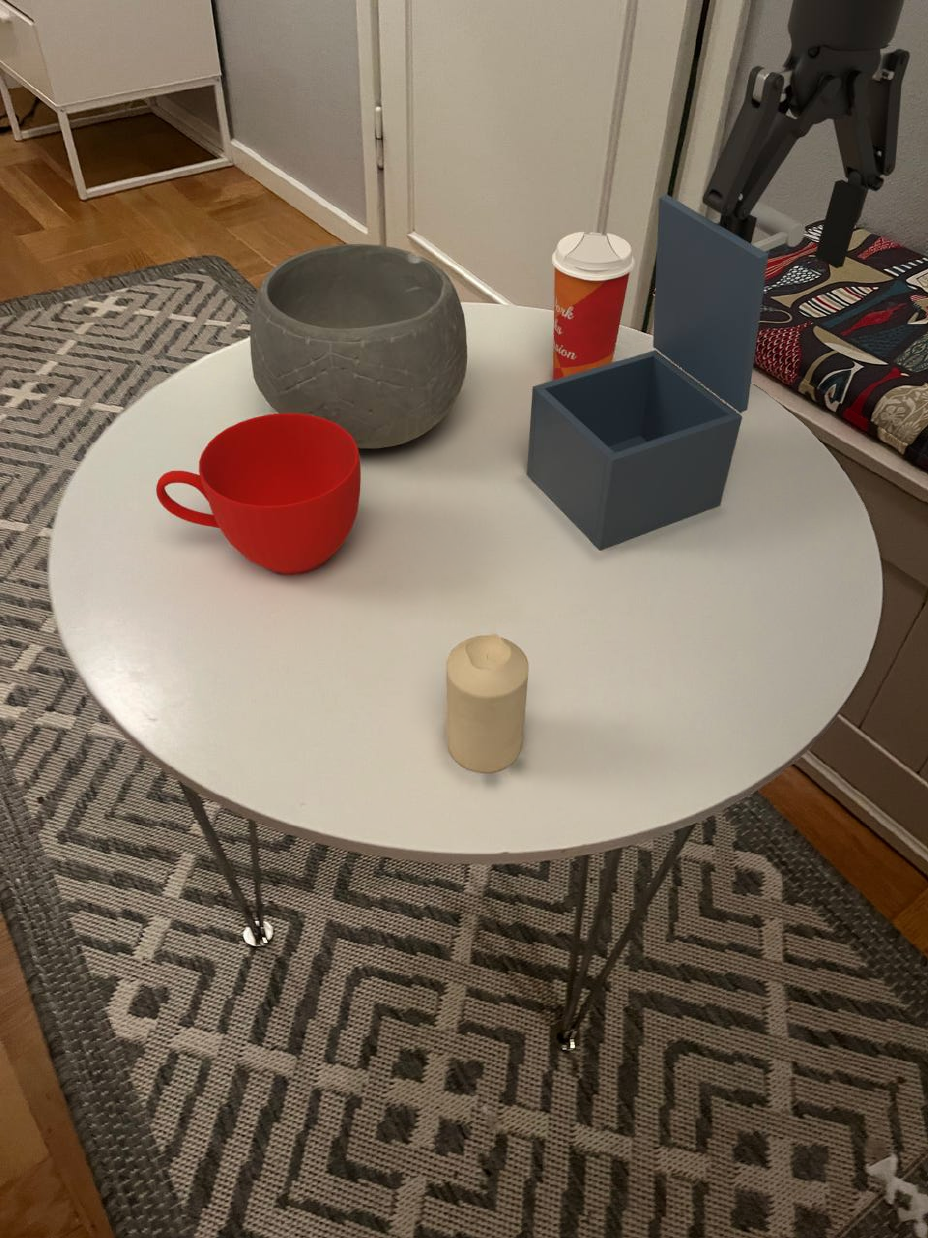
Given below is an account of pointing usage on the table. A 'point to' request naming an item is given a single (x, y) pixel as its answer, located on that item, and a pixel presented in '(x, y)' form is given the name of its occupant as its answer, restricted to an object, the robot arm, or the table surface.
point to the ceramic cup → (277, 489)
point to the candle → (486, 702)
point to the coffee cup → (588, 300)
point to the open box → (630, 447)
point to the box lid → (713, 294)
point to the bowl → (360, 341)
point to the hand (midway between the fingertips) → (778, 275)
